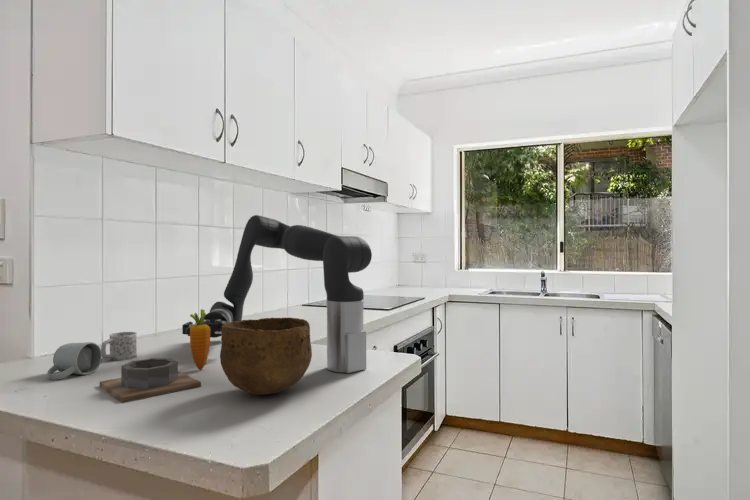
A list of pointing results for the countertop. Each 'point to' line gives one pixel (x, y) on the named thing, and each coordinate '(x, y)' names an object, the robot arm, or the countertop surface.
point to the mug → (121, 346)
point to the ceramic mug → (75, 360)
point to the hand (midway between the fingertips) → (206, 331)
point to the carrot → (200, 340)
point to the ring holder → (148, 379)
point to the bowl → (265, 353)
